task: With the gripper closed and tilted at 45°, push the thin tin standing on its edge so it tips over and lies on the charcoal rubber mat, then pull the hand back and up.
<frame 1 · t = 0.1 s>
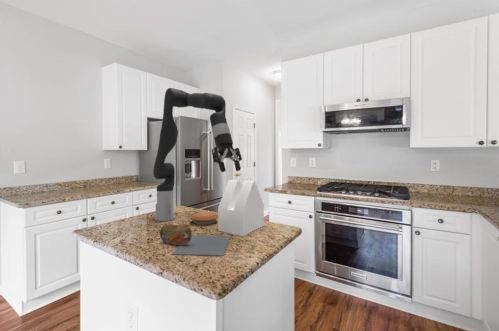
hand: (231, 171, 103), 31 cm above the countertop, tool tilted 20°, fingers open, 8 cm apart
pie: (204, 222, 138), on the countertop
mat: (204, 244, 104), on the countertop
milk carton: (241, 228, 127), on the countertop
tin: (176, 243, 104), on the countertop, touching mat
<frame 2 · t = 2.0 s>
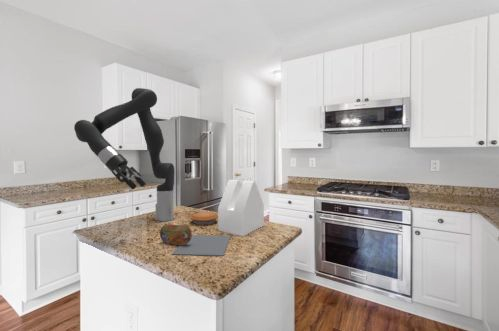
hand: (139, 186, 104), 25 cm above the countertop, tool tilted 45°, fingers open, 8 cm apart
nothing on the countertop moved.
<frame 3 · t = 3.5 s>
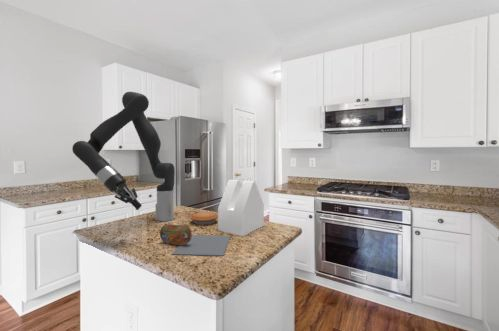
hand: (139, 207, 104), 16 cm above the countertop, tool tilted 45°, fingers closed
nothing on the countertop moved.
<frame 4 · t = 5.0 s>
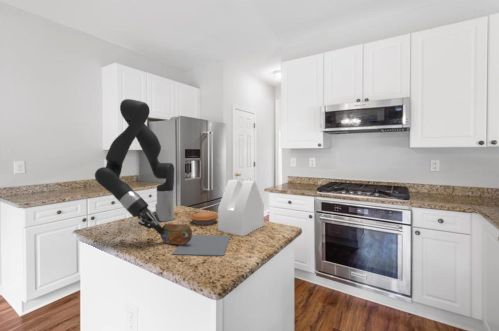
hand: (162, 232, 104), 5 cm above the countertop, tool tilted 45°, fingers closed
tin: (176, 243, 104), on the countertop, touching gripper, mat
everything else where it was.
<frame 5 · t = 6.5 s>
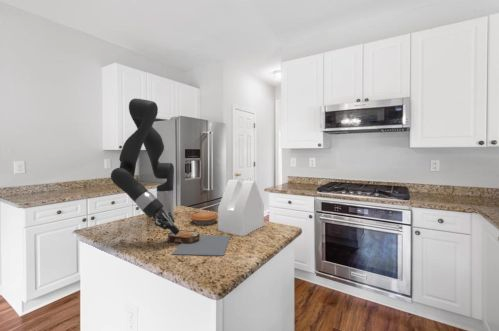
hand: (177, 233, 104), 5 cm above the countertop, tool tilted 45°, fingers closed
tin: (177, 240, 105), point 1 cm above the countertop, touching mat
everything else where it was.
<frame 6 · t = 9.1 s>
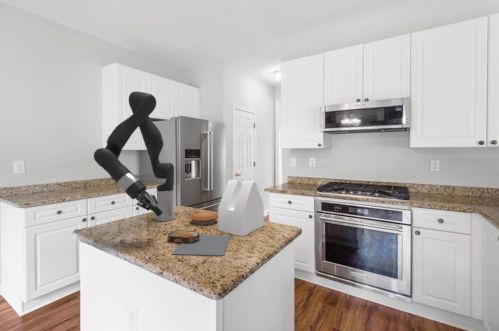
hand: (160, 214, 104), 13 cm above the countertop, tool tilted 45°, fingers closed
nothing on the countertop moved.
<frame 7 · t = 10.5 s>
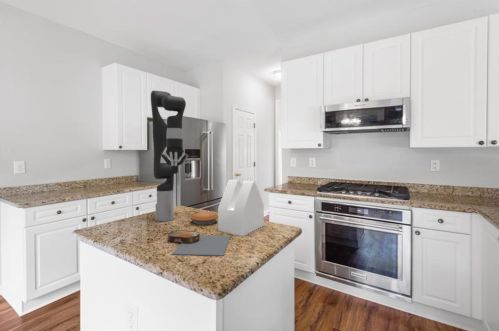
hand: (175, 173, 119), 29 cm above the countertop, tool pointing down, fingers closed
nothing on the countertop moved.
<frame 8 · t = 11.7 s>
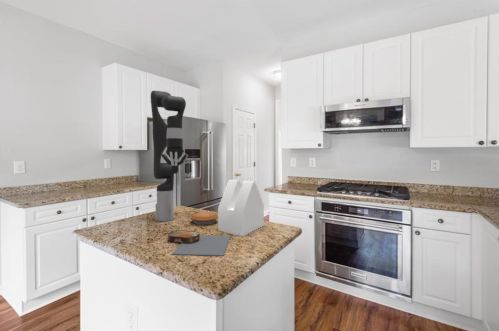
hand: (175, 173, 119), 29 cm above the countertop, tool pointing down, fingers closed
nothing on the countertop moved.
at the end: tin tilted 85°; tin inside the target area (5.4 cm from its centre), point 1.3 cm above the countertop; tin touching mat, countertop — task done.
